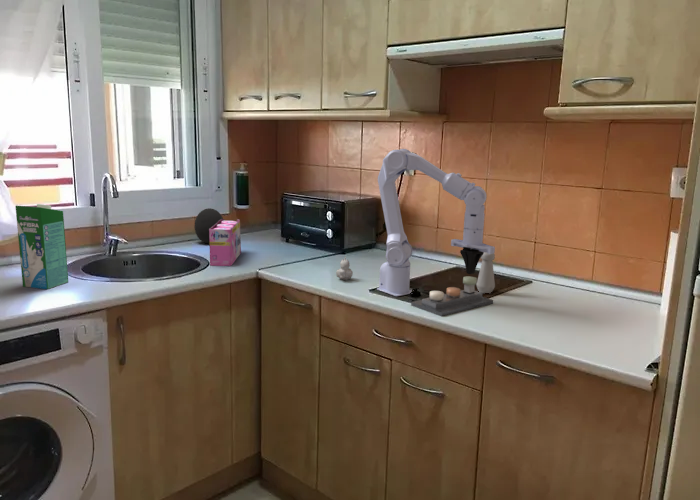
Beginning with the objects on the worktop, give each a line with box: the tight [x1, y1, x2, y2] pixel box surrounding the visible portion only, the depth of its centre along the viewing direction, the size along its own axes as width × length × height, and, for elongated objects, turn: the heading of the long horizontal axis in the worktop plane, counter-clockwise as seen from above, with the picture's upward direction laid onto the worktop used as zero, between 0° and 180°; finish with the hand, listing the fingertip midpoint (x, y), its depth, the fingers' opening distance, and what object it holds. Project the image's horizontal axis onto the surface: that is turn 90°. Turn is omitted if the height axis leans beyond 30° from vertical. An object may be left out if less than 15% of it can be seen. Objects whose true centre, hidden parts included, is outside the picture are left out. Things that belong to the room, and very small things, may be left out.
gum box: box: [209, 218, 242, 267], centre depth 221 cm, size 24×8×14 cm, turn 1°
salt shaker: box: [475, 252, 496, 294], centre depth 185 cm, size 6×6×13 cm
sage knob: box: [462, 275, 478, 293], centre depth 175 cm, size 4×4×4 cm
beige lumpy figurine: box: [336, 256, 354, 281], centre depth 195 cm, size 5×7×8 cm
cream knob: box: [428, 290, 445, 302], centre depth 167 cm, size 4×4×4 cm
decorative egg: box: [194, 208, 224, 245], centre depth 248 cm, size 12×12×15 cm
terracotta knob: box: [445, 286, 461, 298], centre depth 171 cm, size 4×4×4 cm
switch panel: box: [410, 289, 494, 317], centre depth 171 cm, size 12×22×3 cm, turn 128°
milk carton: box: [15, 203, 69, 290], centre depth 179 cm, size 9×9×25 cm
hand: (470, 273), depth 174 cm, fingers closed
